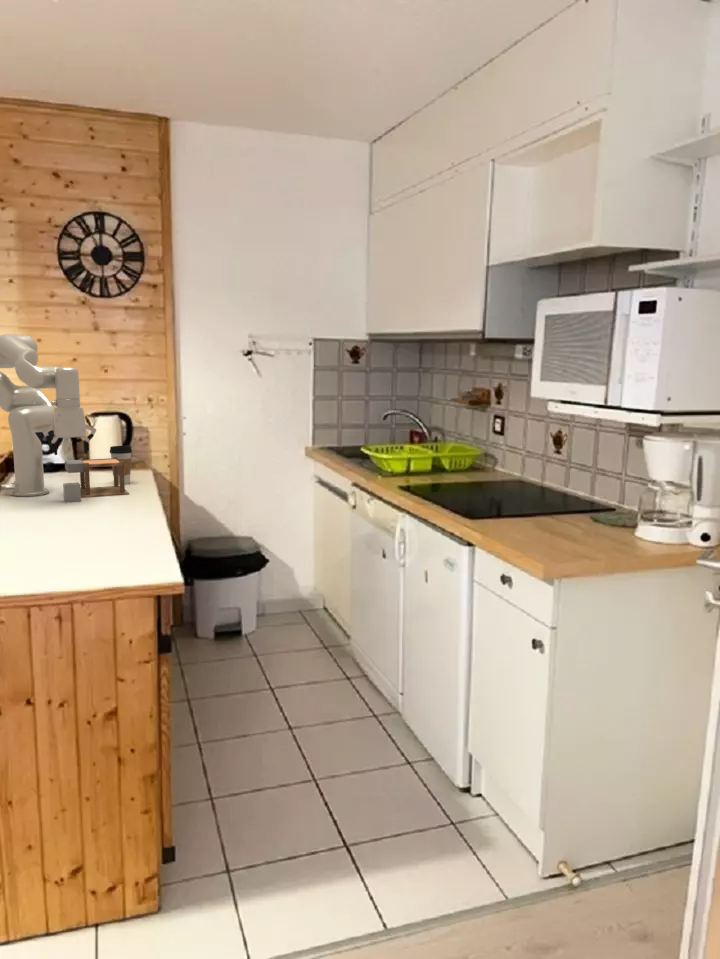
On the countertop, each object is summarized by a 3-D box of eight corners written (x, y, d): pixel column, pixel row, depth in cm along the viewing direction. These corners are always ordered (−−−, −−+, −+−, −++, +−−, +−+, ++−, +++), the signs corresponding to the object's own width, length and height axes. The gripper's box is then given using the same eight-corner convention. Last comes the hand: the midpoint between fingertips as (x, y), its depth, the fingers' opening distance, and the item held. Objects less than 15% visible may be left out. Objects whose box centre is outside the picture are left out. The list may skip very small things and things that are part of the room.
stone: (65, 502, 256) (64, 485, 255) (63, 500, 260) (63, 483, 259) (81, 501, 258) (80, 484, 257) (79, 499, 262) (78, 482, 261)
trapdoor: (68, 473, 265) (68, 464, 264) (65, 469, 273) (64, 460, 273) (120, 470, 273) (120, 461, 272) (116, 466, 281) (115, 458, 281)
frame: (76, 498, 264) (75, 464, 262) (71, 490, 279) (69, 458, 277) (129, 494, 272) (128, 461, 270) (120, 487, 287) (119, 456, 285)
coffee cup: (129, 485, 291) (127, 447, 289) (107, 484, 291) (106, 446, 289) (136, 481, 299) (134, 444, 297) (115, 481, 299) (113, 444, 297)
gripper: (41, 405, 246) (44, 456, 249) (96, 404, 254) (98, 453, 257) (39, 403, 253) (42, 453, 256) (93, 402, 261) (95, 451, 264)
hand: (70, 453), depth 256 cm, fingers open, 9 cm apart
